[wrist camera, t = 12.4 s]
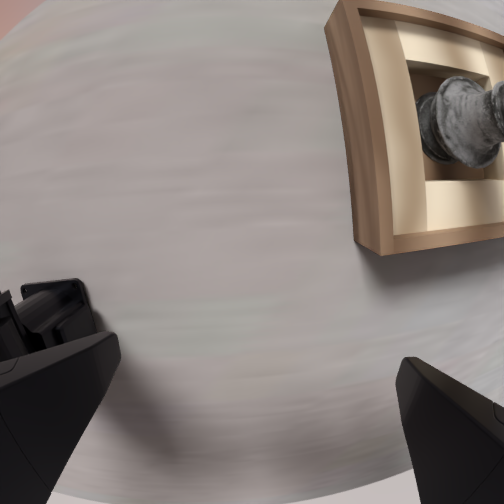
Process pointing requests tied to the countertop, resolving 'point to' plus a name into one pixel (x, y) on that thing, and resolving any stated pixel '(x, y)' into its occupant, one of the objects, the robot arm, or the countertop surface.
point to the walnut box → (410, 125)
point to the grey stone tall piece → (462, 122)
